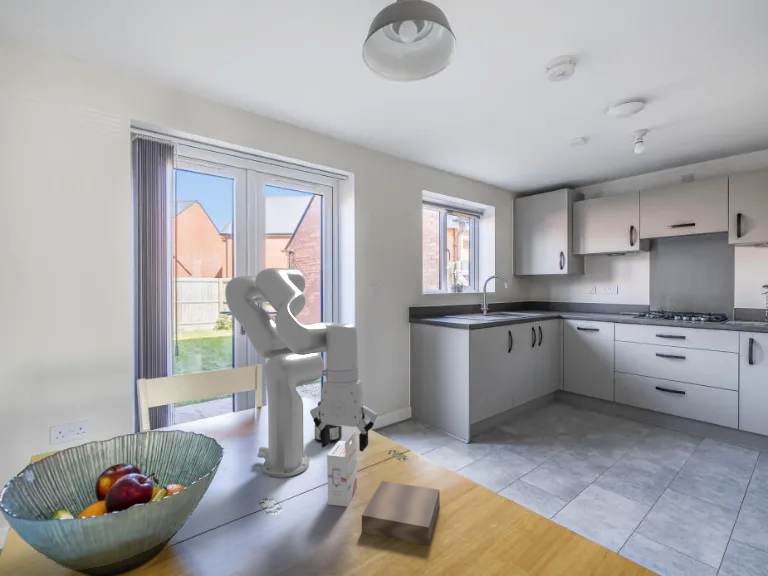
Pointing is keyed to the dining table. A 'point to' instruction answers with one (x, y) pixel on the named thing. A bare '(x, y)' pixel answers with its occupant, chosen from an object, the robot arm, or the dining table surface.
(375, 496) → the walnut block
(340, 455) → the ink cartridge box
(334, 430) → the ink bottle
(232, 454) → the dining table surface
